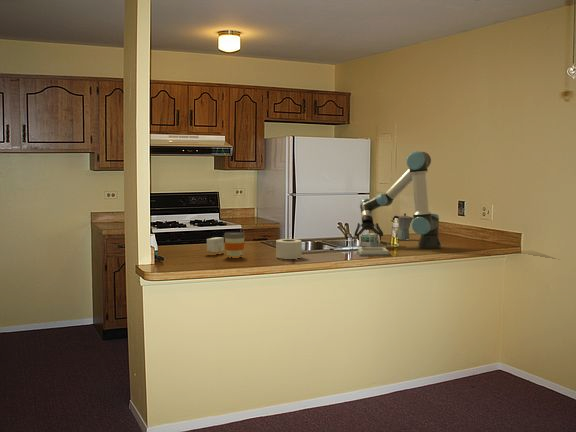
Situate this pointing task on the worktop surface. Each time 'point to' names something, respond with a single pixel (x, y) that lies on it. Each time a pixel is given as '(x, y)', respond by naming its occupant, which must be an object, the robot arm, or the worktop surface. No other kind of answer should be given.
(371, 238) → the light bulb box
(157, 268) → the worktop surface
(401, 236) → the moka pot
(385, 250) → the slot holder
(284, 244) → the cream short cylinder
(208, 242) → the skincare box
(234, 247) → the reusable coffee cup
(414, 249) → the worktop surface
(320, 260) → the worktop surface
